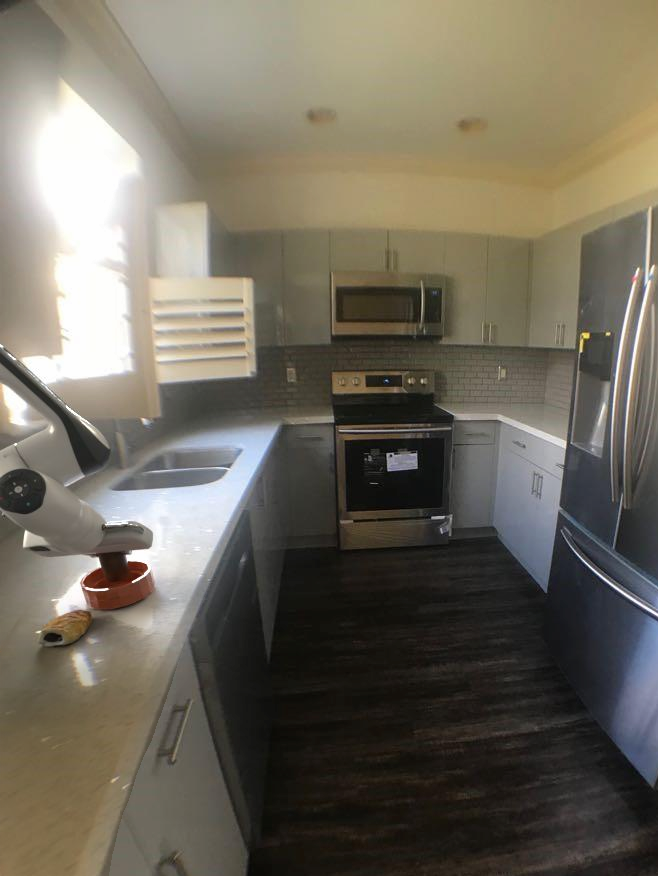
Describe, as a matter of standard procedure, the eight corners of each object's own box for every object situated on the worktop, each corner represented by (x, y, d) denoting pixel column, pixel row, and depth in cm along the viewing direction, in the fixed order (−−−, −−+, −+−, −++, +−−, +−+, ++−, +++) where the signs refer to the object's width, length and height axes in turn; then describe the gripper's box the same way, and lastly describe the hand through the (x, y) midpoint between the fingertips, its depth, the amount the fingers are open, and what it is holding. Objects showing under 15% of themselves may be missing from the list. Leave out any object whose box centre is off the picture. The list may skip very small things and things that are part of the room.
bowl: (80, 617, 90) (73, 596, 88) (94, 586, 102) (88, 566, 100) (152, 603, 94) (147, 582, 92) (157, 574, 106) (153, 555, 104)
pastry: (69, 618, 90) (64, 601, 89) (103, 617, 90) (98, 600, 89) (36, 648, 82) (29, 630, 80) (73, 648, 82) (68, 630, 80)
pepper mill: (103, 584, 94) (88, 534, 89) (107, 573, 98) (93, 525, 94) (129, 579, 95) (115, 530, 91) (132, 569, 99) (119, 522, 95)
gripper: (138, 508, 85) (165, 534, 97) (19, 516, 83) (63, 542, 95) (135, 539, 82) (163, 562, 95) (12, 549, 80) (58, 571, 93)
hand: (112, 552), depth 95 cm, fingers closed on pepper mill, 5 cm apart
